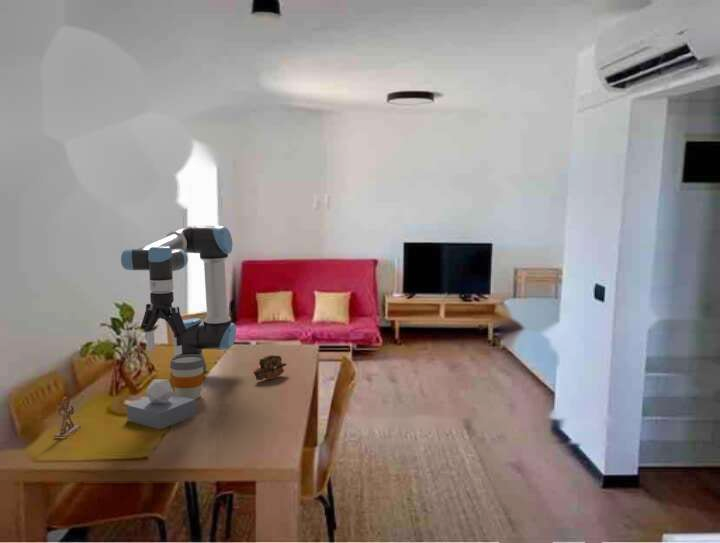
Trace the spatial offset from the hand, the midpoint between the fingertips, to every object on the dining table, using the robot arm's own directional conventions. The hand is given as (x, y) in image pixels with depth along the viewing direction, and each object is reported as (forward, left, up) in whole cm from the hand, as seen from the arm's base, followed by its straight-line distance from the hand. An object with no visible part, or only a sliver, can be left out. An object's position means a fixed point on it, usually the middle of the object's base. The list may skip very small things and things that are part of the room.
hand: (164, 352), depth 198 cm
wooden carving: (+5, +52, -23) cm, 57 cm away
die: (0, -3, -17) cm, 18 cm away
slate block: (+1, -2, -23) cm, 23 cm away
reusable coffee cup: (-8, +18, -23) cm, 30 cm away
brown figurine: (-15, -28, -23) cm, 39 cm away
